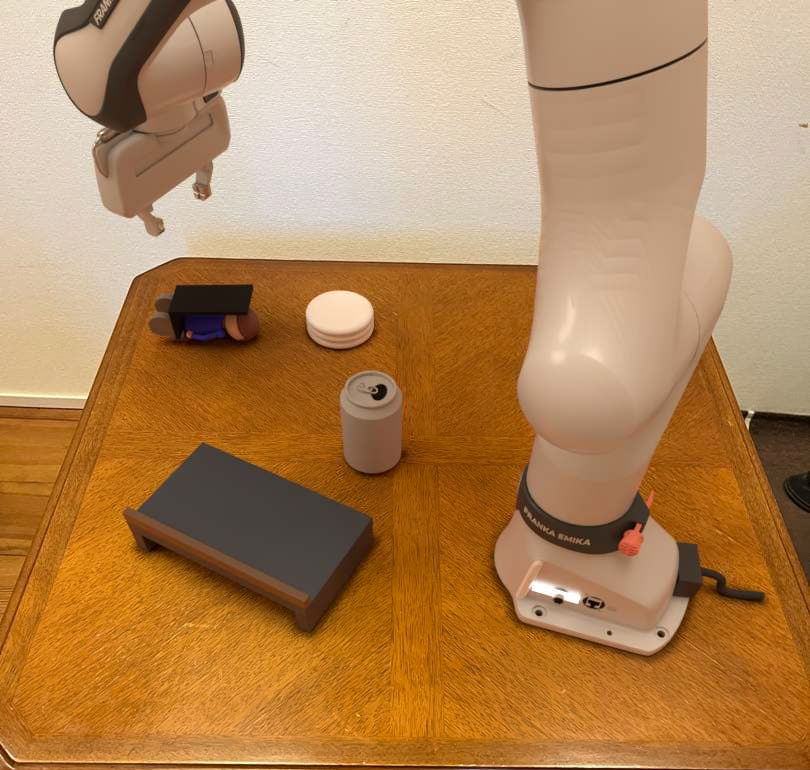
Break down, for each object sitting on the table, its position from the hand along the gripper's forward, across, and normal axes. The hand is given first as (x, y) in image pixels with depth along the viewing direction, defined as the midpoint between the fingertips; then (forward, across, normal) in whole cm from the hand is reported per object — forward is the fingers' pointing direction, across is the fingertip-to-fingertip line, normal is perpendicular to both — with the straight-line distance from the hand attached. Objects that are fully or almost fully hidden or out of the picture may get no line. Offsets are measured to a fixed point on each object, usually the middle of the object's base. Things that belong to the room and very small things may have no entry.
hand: (180, 214), depth 94 cm
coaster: (+19, +11, -16) cm, 27 cm away
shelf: (+19, -28, -28) cm, 44 cm away
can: (+19, -9, -33) cm, 39 cm away
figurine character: (+20, 0, 0) cm, 20 cm away
